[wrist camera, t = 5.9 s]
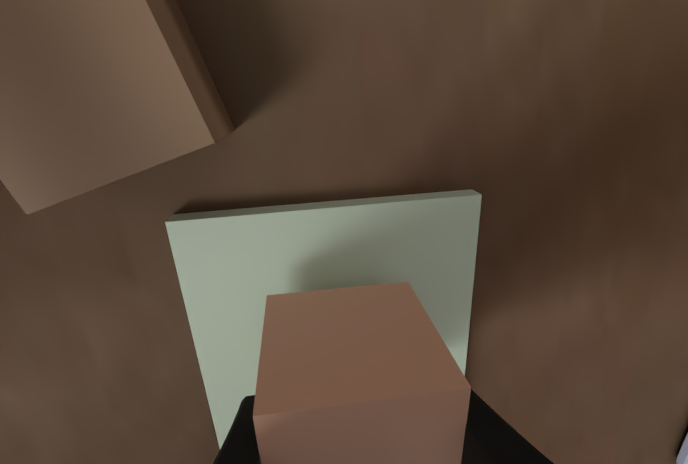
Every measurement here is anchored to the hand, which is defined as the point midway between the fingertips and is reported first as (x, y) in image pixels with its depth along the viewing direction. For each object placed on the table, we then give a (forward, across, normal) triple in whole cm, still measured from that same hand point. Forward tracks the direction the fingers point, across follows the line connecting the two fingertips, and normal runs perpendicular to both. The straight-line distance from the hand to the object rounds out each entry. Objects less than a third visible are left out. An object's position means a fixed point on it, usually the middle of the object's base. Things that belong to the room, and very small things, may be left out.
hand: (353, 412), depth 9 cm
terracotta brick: (+2, 0, 0) cm, 2 cm away
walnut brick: (+4, +5, -8) cm, 10 cm away
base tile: (+4, 0, 0) cm, 4 cm away
